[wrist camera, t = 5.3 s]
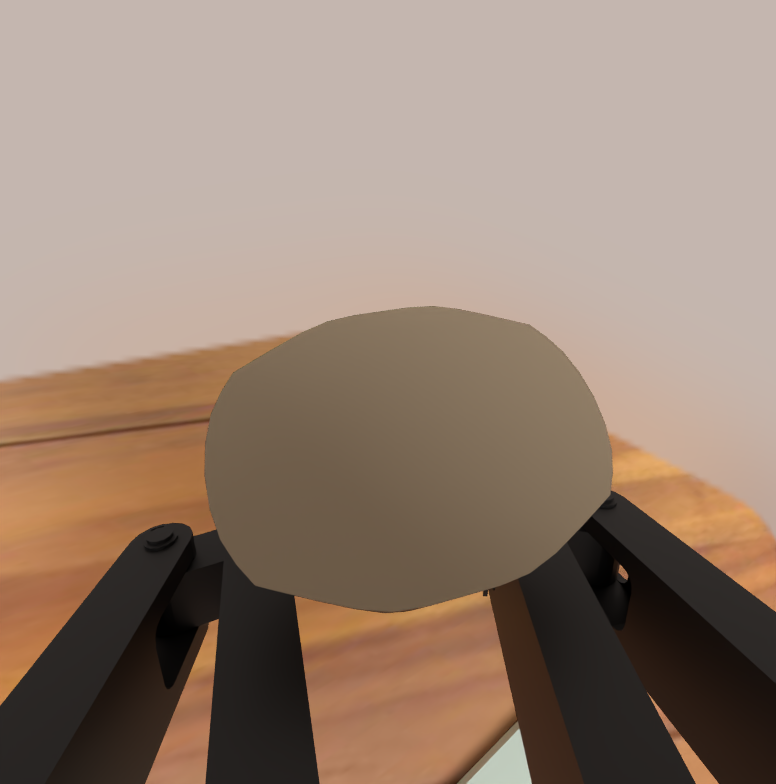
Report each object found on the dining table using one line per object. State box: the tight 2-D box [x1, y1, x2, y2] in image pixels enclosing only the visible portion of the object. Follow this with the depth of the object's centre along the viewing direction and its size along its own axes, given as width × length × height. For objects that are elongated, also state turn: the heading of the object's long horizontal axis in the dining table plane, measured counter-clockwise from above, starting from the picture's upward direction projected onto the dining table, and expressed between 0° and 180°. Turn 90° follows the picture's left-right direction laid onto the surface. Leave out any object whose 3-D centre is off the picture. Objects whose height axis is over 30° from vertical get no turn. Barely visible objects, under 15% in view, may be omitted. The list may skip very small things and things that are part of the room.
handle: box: [205, 306, 613, 613], centre depth 13 cm, size 5×6×15 cm
